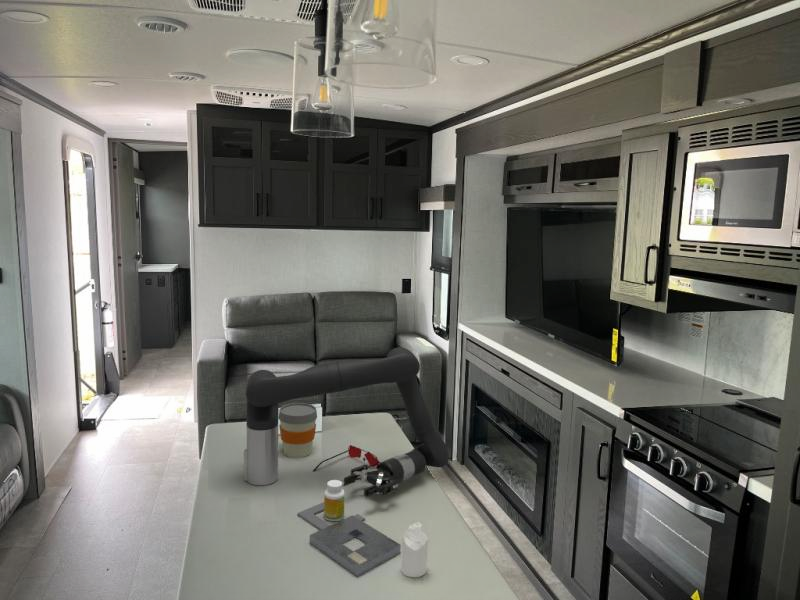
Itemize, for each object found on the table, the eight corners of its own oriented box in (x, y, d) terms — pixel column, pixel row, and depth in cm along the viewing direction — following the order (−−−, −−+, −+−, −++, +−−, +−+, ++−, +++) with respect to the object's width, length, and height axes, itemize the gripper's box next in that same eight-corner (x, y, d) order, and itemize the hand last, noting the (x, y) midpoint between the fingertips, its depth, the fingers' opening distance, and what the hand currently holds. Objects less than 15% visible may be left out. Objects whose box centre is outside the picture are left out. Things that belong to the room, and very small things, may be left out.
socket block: (309, 542, 150) (309, 534, 150) (352, 522, 160) (352, 514, 160) (357, 576, 138) (357, 567, 138) (400, 552, 148) (400, 544, 148)
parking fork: (330, 537, 153) (330, 535, 153) (297, 515, 163) (297, 513, 163) (365, 520, 162) (365, 518, 162) (332, 500, 171) (332, 498, 171)
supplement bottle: (340, 523, 160) (341, 489, 158) (321, 520, 161) (321, 486, 159) (346, 512, 165) (347, 479, 163) (327, 510, 166) (328, 477, 164)
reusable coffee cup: (297, 441, 210) (298, 400, 208) (324, 451, 203) (325, 408, 201) (270, 452, 200) (270, 409, 198) (297, 463, 193) (297, 419, 191)
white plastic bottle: (403, 529, 136) (402, 516, 142) (401, 577, 139) (400, 562, 144) (429, 530, 137) (427, 517, 142) (427, 577, 139) (425, 563, 144)
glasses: (380, 469, 192) (381, 455, 191) (343, 487, 180) (344, 472, 179) (349, 456, 201) (350, 442, 200) (312, 472, 189) (312, 457, 188)
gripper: (379, 450, 183) (338, 465, 171) (414, 466, 173) (372, 484, 162) (378, 473, 184) (337, 490, 173) (412, 490, 174) (371, 510, 163)
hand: (354, 487), depth 167 cm, fingers open, 8 cm apart
